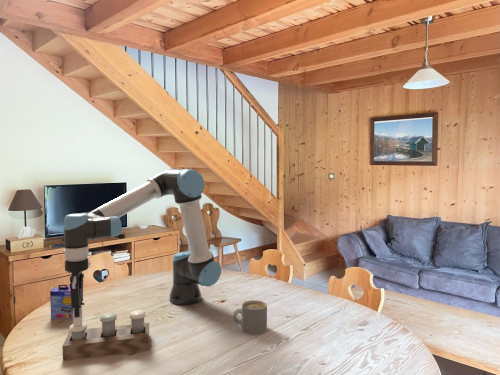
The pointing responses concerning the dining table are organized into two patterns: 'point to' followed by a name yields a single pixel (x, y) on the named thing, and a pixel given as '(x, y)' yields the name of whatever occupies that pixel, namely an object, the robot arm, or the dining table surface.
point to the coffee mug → (252, 317)
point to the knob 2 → (137, 321)
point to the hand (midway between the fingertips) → (77, 324)
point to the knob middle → (108, 324)
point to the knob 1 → (78, 331)
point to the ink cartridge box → (61, 303)
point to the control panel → (106, 343)
